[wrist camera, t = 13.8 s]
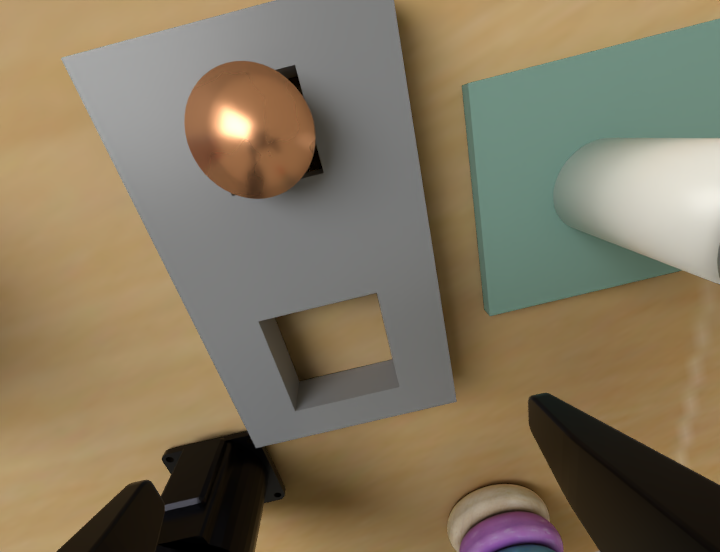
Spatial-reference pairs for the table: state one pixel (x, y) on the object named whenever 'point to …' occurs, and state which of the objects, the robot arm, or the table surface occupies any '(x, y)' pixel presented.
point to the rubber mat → (561, 140)
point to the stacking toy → (502, 522)
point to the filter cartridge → (648, 198)
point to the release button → (249, 129)
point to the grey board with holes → (286, 207)
